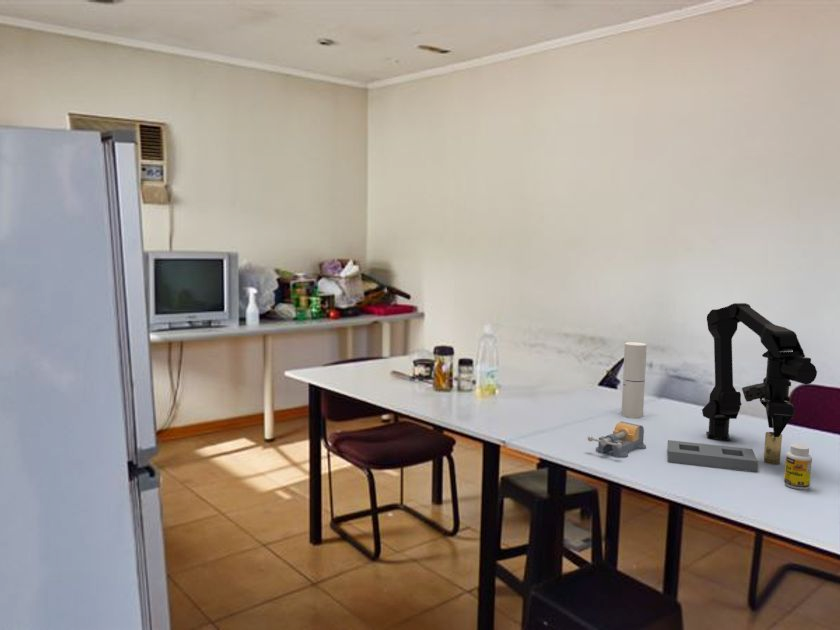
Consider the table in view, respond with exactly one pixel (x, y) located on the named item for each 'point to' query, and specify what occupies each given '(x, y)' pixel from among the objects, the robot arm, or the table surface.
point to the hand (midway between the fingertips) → (773, 432)
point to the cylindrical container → (634, 379)
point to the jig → (712, 455)
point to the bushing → (772, 448)
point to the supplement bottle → (798, 467)
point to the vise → (621, 440)
